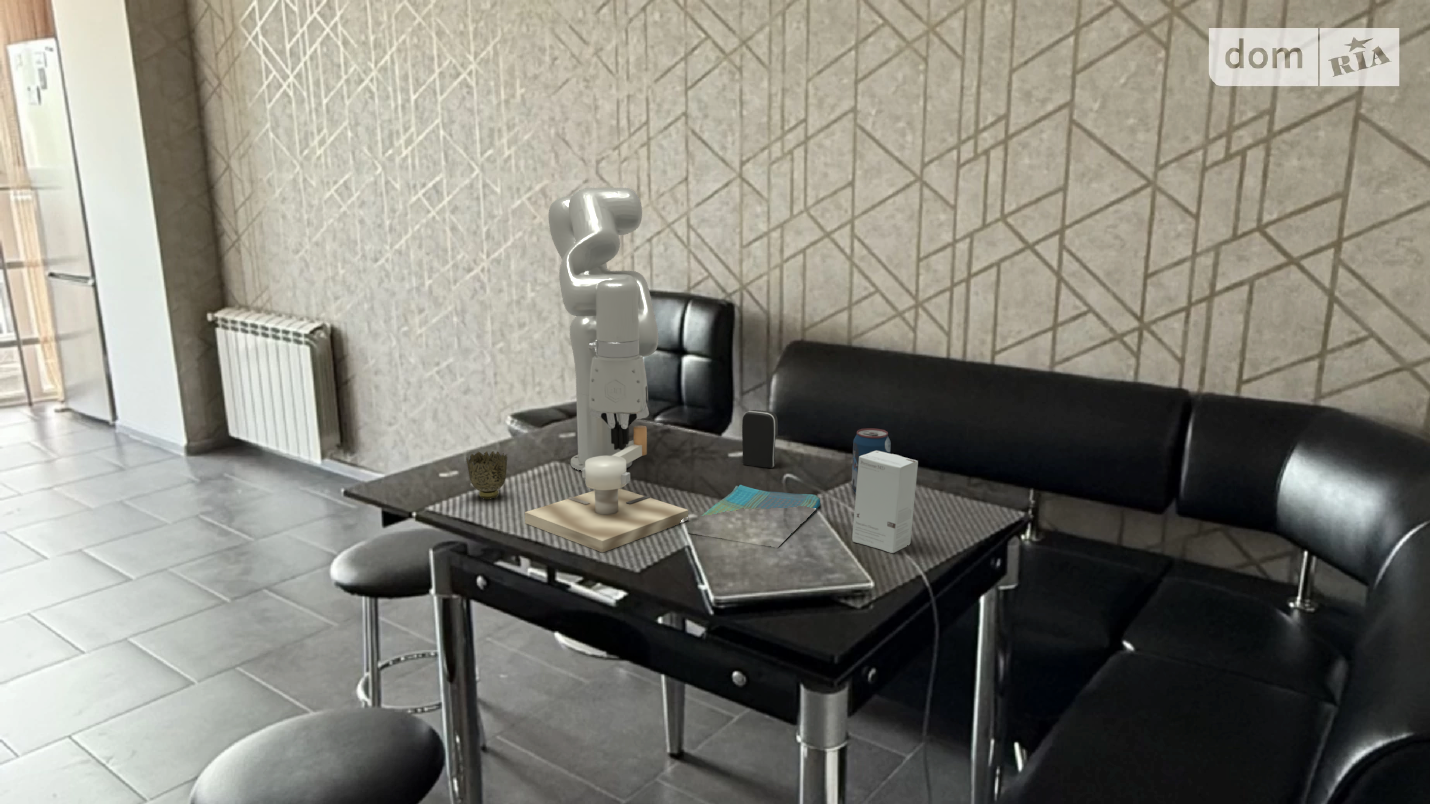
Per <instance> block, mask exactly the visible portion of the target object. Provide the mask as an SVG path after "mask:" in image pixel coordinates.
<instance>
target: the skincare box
mask: <svg viewBox="0 0 1430 804" xmlns="http://www.w3.org/2000/svg"><path fill="white" fill-rule="evenodd" d="M918 466H919V460H916V459H912V458H908V457H904V456H902V455H899V454H894V453H890V454H889V453H885V452H881V451H873V452H870V453H868V454H865V455H862V456H859V464H858V475H857V487H856V494H855V502H854V511H853V512H854V513H853V521H852V522H853V524H852V535H851V538H852V543H857V544H859V545H860V544H861V545H864V546H867V547H871V548H874V549H879V550H881V551H885V552H887V553H891V554H894V553H897V552H898V551H900V550H902V549H904V548H907V547H908V546H910V544H911V539H912V531H913V530H912V529H913V519H914V509H915V499H916V487H917V479H918V478H917V476H918ZM907 545H908V546H907Z"/></svg>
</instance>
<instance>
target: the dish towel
mask: <svg viewBox="0 0 1430 804" xmlns="http://www.w3.org/2000/svg"><path fill="white" fill-rule="evenodd" d="M797 506H807V507H810V508H817V509H818V508H819V507H820V506H821V499H820V497H818V496H817V494H808V493H789V492H781V491H780V492H779V491H767V490H761V489H755V488H753V487H749V486H746V485H742V484H739V486H738V485H735V487H734V488H733V490H732V492H730V493H729V494H727V496H725V497H724V498H722V499H721V500H720V501H718V502H716V503H715V504H714V505H713V506H712V507H710V508H709V509H708V510H707V511H705V512H704V513H703V514H701V516H704V515H712V514H717V513H721V512H725V511H736V510H739V509H742V508H744V509H771V508H790V507H797Z"/></svg>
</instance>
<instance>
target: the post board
mask: <svg viewBox="0 0 1430 804" xmlns="http://www.w3.org/2000/svg"><path fill="white" fill-rule="evenodd" d="M685 517H688V518H689V510H688V509H687V508H683V507H680V506H677V505H674V504H670V503H668V502H664V501H662V500H661V501H660V500H658V499H655V498H652V497H651V496H649V495H641V494H639V493H636V492H633V491H629V490H627V489H624V488H623V489H622V488H618V489H613V490H596V489H594V490H592V491H589V492H586V493H582V494H579V495H576V496H570V497H567V498H566V499H563V500H560V501H556V502H553V503H550V504H546V505H544V506H540V507H537V508H534V509H531V510H528V511H524V524H526V525H529V526H532V527H534V528H537V529H539V530H542V531H545V532H548V533H550V534H551V535H554V536H555V535H556V536H558V537H560V538H563V539H566V540H568V541H571V542H573V543H576V544H579V545H582V546H584V547H587V548H589V549H593V550H594V551H598V552H600V553H605V552H609V551H611V550H613V549H616V548H618V547H621V546H624V545H627V544H629V543H630V544H631V543H632V542H636V541H638V540H639V539H642V538H646V537H648V536H651V535H654V534H656V533H659V532H663V531H665V530H667V528H668V529H670V528H672V527H673V528H674V527H675V525H676V526H678V525H680V524H679V523H680V522H681V520H682V519H683V518H685Z"/></svg>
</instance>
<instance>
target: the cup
mask: <svg viewBox="0 0 1430 804" xmlns="http://www.w3.org/2000/svg"><path fill="white" fill-rule="evenodd" d="M465 459H466V464H467V465H466V466H467V470H468V476H469V480H470V483H471V485H472V486H473V487H472V488H474V489H475V490H477V491H478V495H479V497H480V499H482V498H484V499H483V500H491V499H490V498H494V499H496V498H498V496H499V493H500V491H499V489H501V488H502V487H503V486H504V484H505V482H506V478H507V469H508V468H507V467H508V453H506V454H505V452H502V454H501V453H500V452H499V451H498V450H497V451H496V452H495V451H494V450H492V451H491V452H490V453H489V451H488V450H486V451H485V452H484V454H483V453H482V452H480V451H477V452H475V453H474V454H473V453H470V454H469V458H468V457H466V458H465Z"/></svg>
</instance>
